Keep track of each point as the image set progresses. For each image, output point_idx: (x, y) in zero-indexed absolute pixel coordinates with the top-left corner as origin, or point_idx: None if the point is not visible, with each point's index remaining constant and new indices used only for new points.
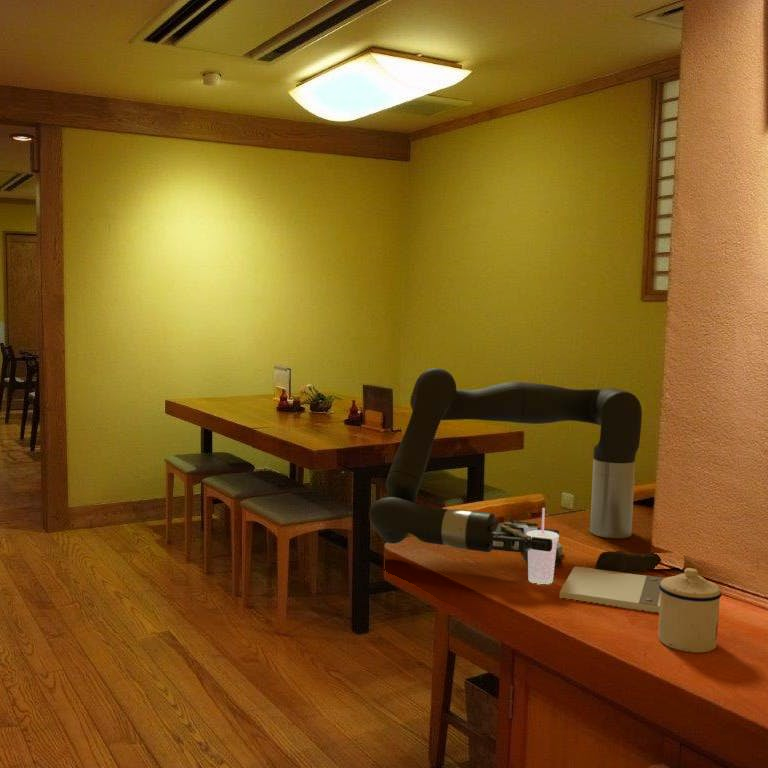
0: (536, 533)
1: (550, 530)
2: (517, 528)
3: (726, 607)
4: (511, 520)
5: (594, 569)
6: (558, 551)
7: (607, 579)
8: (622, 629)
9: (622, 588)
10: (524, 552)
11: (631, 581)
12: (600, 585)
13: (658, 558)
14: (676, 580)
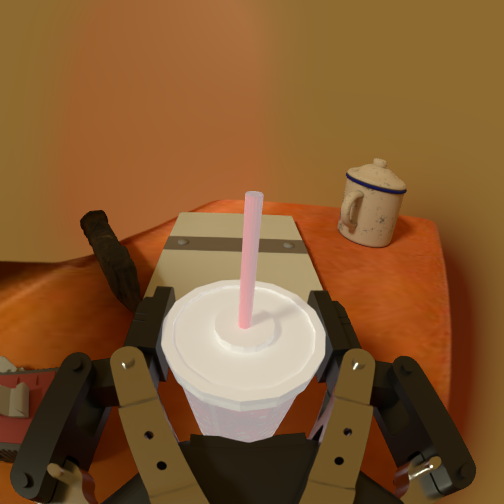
0: (232, 356)
1: (166, 307)
2: (195, 462)
3: (235, 212)
4: (27, 484)
5: None
6: (23, 370)
7: None
8: (386, 271)
9: None
10: None
11: (202, 262)
12: None
13: (110, 228)
14: (393, 176)
